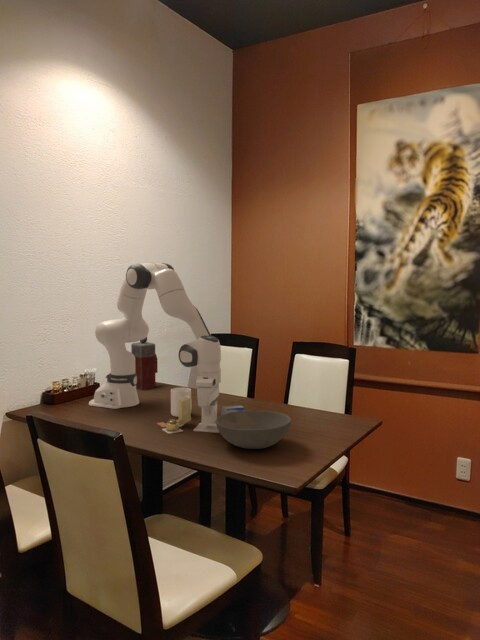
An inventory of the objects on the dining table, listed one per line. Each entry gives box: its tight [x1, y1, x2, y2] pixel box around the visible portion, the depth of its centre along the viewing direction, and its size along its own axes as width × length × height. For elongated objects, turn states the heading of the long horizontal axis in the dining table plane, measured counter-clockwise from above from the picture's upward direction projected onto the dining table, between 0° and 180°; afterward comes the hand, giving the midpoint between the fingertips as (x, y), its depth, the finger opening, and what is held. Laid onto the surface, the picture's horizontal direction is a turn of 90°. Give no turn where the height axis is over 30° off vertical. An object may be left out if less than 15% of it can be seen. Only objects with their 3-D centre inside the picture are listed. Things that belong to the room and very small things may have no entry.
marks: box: [156, 421, 186, 435], centre depth 202 cm, size 13×15×1 cm
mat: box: [192, 422, 220, 434], centre depth 202 cm, size 10×10×1 cm
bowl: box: [215, 409, 292, 450], centre depth 182 cm, size 26×26×10 cm
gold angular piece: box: [165, 397, 192, 431], centre depth 202 cm, size 14×5×10 cm, turn 150°
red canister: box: [130, 336, 159, 391], centre depth 269 cm, size 9×11×28 cm
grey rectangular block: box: [200, 399, 218, 424], centre depth 201 cm, size 5×5×8 cm
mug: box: [170, 387, 193, 418], centre depth 219 cm, size 9×12×11 cm
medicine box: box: [221, 404, 246, 416], centre depth 201 cm, size 8×4×9 cm, turn 118°
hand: (209, 412), depth 201 cm, fingers closed on grey rectangular block, 5 cm apart
